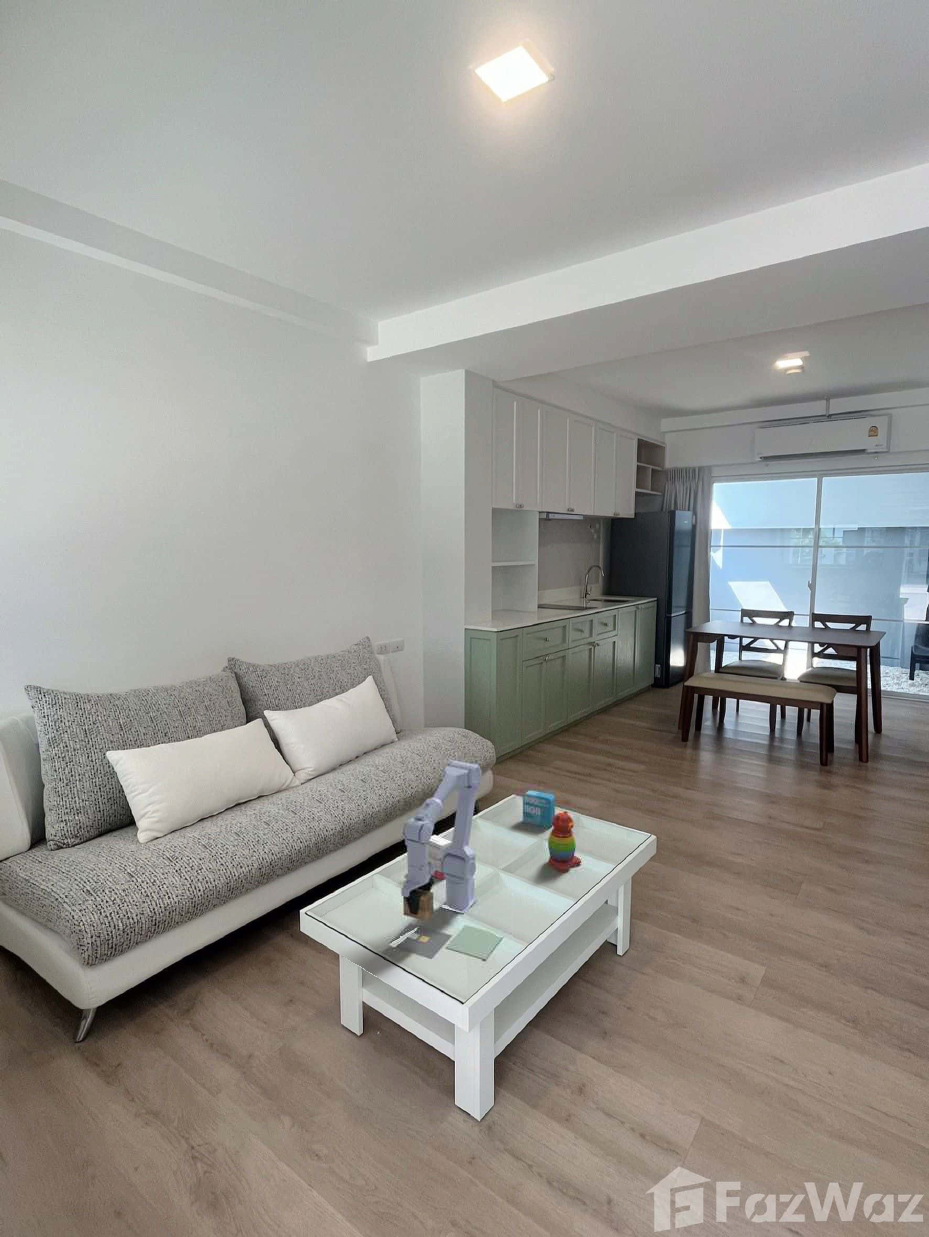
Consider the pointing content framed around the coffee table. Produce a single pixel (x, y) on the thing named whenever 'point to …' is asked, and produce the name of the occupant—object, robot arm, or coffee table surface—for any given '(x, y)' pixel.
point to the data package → (538, 808)
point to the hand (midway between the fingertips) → (418, 909)
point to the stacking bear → (562, 843)
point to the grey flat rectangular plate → (422, 941)
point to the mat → (474, 942)
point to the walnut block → (421, 906)
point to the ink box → (436, 853)
